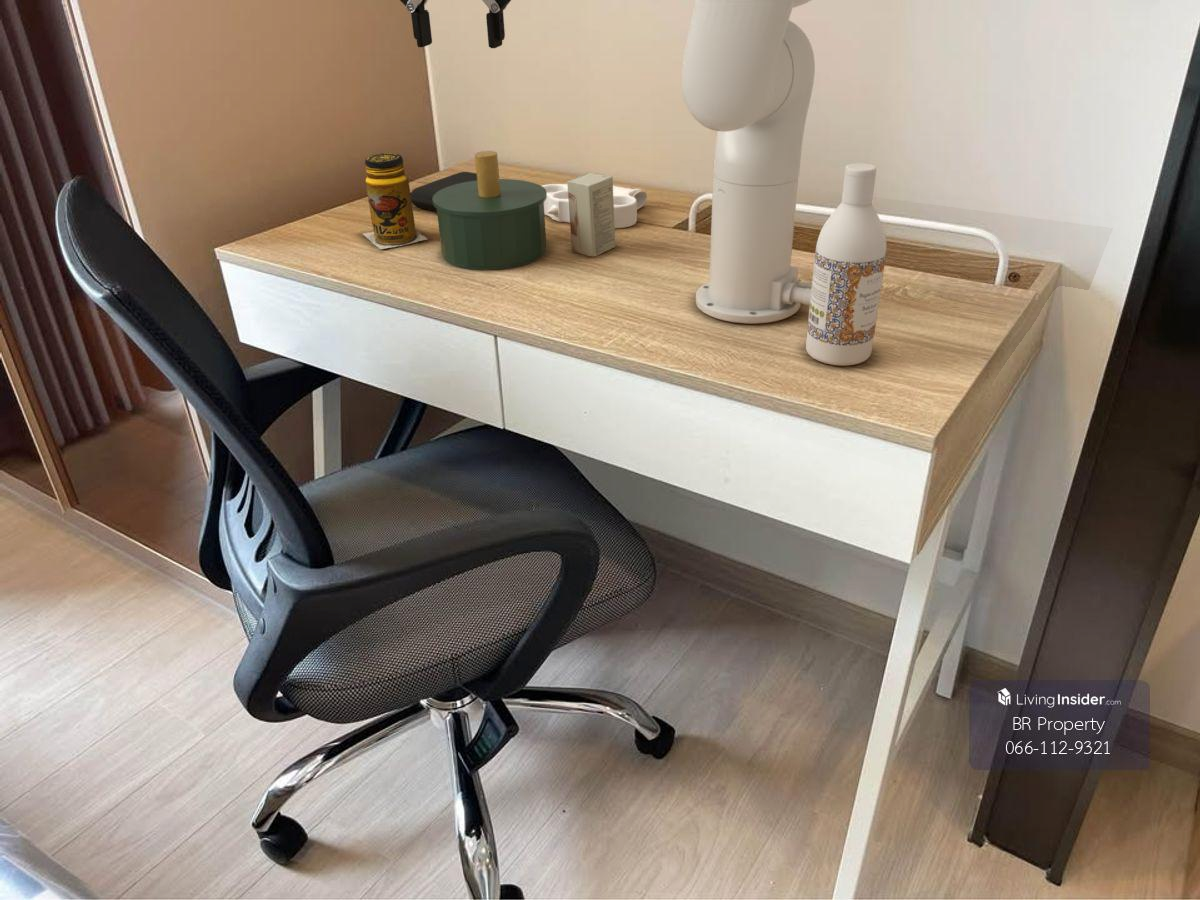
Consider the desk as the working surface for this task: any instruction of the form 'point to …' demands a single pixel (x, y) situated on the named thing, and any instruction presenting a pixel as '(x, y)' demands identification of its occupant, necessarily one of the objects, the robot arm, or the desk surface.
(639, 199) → the knuckle duster
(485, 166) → the tin lid
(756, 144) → the robot arm
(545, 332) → the desk surface
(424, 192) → the carrying case
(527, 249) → the tin
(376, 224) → the condiment
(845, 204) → the bath foam
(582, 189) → the white cardboard carton
